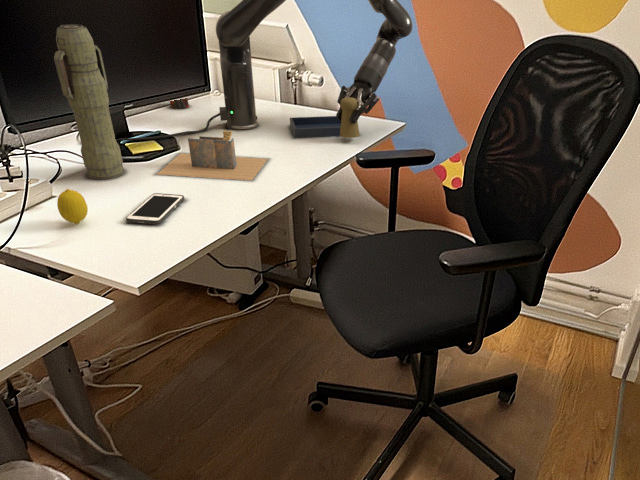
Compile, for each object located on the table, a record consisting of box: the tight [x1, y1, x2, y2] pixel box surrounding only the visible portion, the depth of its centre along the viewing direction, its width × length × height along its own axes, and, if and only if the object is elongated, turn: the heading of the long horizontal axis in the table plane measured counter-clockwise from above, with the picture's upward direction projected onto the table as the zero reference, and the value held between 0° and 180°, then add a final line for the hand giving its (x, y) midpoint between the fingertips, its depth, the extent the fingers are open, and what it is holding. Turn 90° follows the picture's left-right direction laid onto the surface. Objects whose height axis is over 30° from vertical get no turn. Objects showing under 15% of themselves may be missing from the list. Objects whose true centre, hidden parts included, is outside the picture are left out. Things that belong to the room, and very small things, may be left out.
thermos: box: [53, 23, 125, 181], centre depth 145 cm, size 9×12×35 cm
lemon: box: [56, 188, 89, 225], centre depth 127 cm, size 6×6×8 cm
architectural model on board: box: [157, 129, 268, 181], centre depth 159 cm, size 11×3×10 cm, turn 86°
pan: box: [289, 115, 341, 139], centre depth 191 cm, size 20×13×3 cm, turn 105°
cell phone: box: [125, 192, 185, 225], centre depth 136 cm, size 8×15×1 cm, turn 175°
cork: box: [339, 97, 360, 139], centre depth 180 cm, size 6×6×11 cm
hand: (345, 120), depth 179 cm, fingers closed on cork, 4 cm apart
